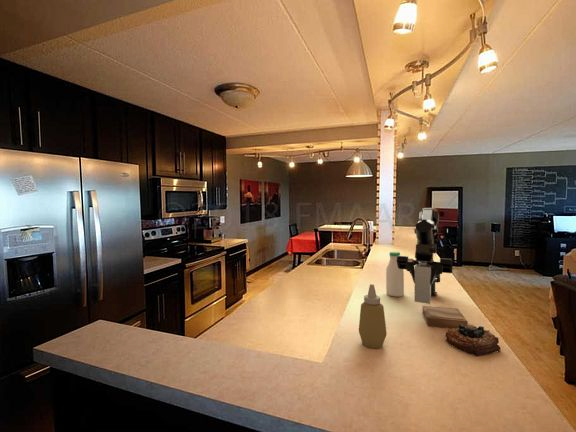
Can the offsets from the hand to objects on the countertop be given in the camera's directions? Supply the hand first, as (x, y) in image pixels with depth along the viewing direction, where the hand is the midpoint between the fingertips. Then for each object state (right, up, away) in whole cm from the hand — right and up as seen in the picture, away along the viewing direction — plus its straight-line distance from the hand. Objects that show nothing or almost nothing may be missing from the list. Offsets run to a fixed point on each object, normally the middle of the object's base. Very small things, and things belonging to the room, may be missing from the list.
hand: (422, 283), depth 100 cm
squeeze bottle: (-23, -14, -16) cm, 32 cm away
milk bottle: (+2, -13, +31) cm, 33 cm away
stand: (+7, -13, -1) cm, 15 cm away
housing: (+1, -7, +1) cm, 7 cm away
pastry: (+6, -14, -18) cm, 24 cm away
